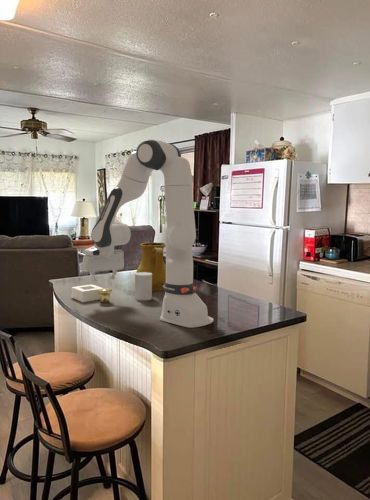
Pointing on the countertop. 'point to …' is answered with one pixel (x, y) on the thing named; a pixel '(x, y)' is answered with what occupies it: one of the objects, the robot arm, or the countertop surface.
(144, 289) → the white cylinder
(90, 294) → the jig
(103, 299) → the brass dome knob
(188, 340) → the countertop surface
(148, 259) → the pitcher
